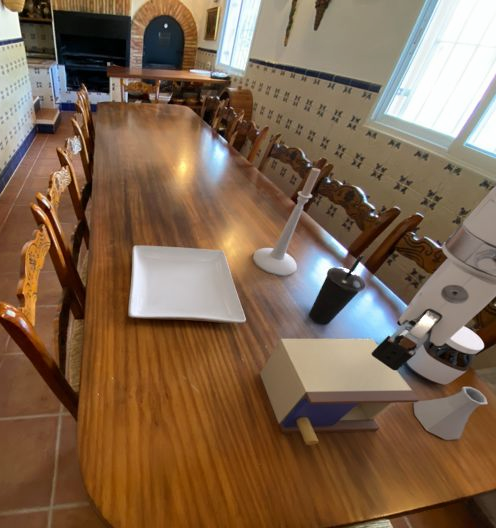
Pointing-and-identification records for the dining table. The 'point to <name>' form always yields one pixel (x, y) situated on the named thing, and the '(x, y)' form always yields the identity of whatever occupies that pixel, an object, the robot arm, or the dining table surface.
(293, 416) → the sliding door
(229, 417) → the dining table surface
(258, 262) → the candlestick
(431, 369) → the spread jar
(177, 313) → the square plate
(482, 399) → the flask
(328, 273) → the drinking cup
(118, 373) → the dining table surface
